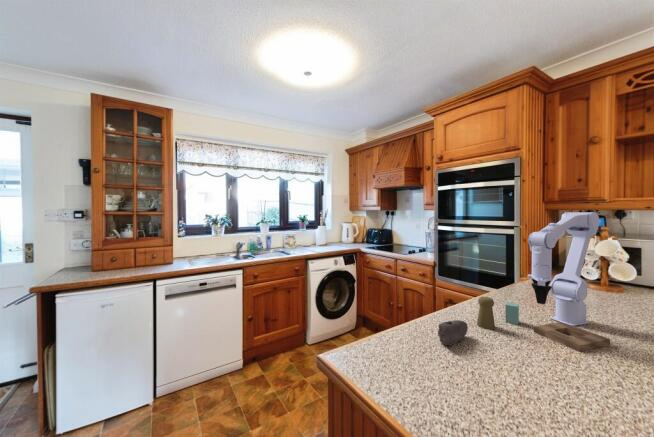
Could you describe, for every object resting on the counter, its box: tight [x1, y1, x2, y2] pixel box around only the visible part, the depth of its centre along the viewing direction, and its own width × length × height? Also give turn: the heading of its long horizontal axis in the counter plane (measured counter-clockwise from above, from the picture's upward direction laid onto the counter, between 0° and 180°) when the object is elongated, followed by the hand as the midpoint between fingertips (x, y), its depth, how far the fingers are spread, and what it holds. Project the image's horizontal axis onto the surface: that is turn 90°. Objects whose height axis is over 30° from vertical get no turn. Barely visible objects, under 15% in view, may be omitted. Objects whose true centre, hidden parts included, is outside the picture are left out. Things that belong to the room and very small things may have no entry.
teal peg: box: [505, 301, 520, 326], centre depth 104 cm, size 4×4×7 cm
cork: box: [476, 296, 496, 330], centre depth 101 cm, size 6×6×11 cm
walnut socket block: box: [533, 321, 611, 353], centre depth 90 cm, size 14×14×2 cm
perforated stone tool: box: [437, 319, 469, 346], centre depth 90 cm, size 15×5×7 cm, turn 120°
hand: (540, 300), depth 98 cm, fingers open, 7 cm apart
